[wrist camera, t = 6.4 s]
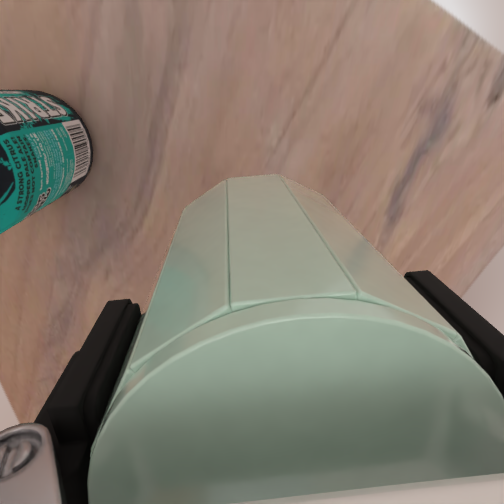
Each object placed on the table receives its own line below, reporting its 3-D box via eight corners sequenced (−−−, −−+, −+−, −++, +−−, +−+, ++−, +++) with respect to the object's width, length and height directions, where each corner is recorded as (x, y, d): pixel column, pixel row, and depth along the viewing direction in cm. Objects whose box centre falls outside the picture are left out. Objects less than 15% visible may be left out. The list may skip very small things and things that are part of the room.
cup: (129, 245, 15) (-16, 476, 6) (286, 135, 13) (404, 212, 5) (237, 367, 17) (250, 661, 8) (377, 282, 16) (568, 517, 7)
